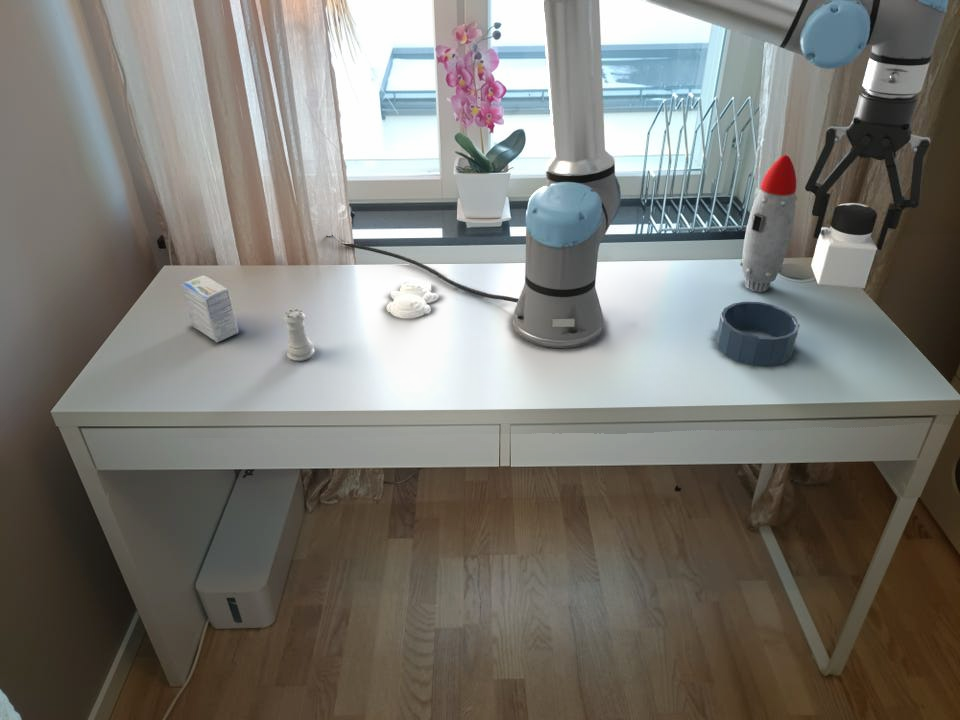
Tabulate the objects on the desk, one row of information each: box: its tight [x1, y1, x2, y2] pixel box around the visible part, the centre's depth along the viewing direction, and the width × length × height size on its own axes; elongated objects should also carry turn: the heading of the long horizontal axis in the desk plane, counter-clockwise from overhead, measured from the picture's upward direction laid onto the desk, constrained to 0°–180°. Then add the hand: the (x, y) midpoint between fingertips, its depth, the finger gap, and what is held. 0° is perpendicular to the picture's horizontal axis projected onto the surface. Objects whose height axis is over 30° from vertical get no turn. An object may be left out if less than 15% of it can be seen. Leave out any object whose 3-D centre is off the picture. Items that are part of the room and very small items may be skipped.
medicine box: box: [181, 275, 239, 343], centre depth 125 cm, size 8×4×9 cm, turn 47°
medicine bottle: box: [810, 202, 878, 290], centre depth 117 cm, size 7×7×12 cm
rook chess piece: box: [283, 307, 315, 362], centre depth 118 cm, size 4×4×8 cm
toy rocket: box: [739, 154, 798, 293], centre depth 131 cm, size 8×8×25 cm
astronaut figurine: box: [386, 280, 439, 319], centre depth 134 cm, size 9×12×3 cm
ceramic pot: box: [715, 301, 800, 367], centre depth 120 cm, size 12×12×5 cm
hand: (847, 240), depth 117 cm, fingers closed on medicine bottle, 8 cm apart
